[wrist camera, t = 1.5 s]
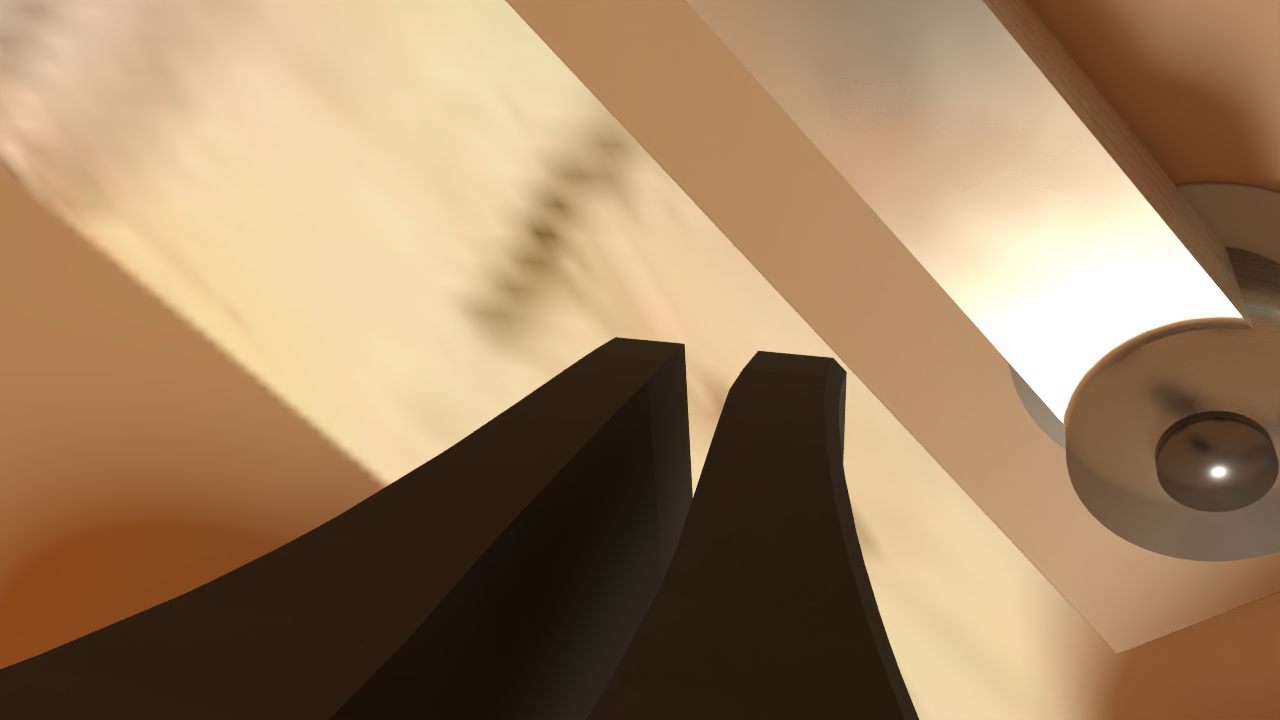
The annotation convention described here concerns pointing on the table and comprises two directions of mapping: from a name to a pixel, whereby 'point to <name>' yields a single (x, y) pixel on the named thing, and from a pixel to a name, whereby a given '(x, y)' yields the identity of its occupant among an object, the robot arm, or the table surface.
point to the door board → (906, 292)
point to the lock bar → (1050, 248)
